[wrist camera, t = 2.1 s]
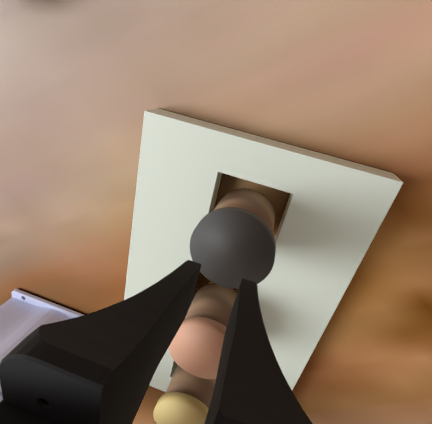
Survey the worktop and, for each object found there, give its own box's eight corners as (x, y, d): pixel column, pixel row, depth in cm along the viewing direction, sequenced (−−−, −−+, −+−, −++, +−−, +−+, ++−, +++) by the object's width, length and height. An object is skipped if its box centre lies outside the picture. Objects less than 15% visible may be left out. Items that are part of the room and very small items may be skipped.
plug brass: (172, 376, 28) (150, 428, 24) (180, 343, 26) (157, 393, 22) (217, 394, 28) (203, 451, 23) (229, 362, 26) (216, 417, 21)
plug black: (205, 235, 21) (183, 272, 17) (220, 175, 19) (198, 201, 15) (268, 255, 21) (260, 299, 16) (289, 196, 19) (287, 229, 14)
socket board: (126, 356, 32) (116, 372, 30) (157, 108, 21) (144, 110, 19) (270, 413, 30) (268, 434, 28) (393, 172, 19) (403, 182, 17)
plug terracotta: (186, 315, 25) (163, 363, 21) (197, 272, 23) (173, 315, 19) (239, 334, 24) (227, 388, 20) (254, 292, 22) (244, 341, 18)
